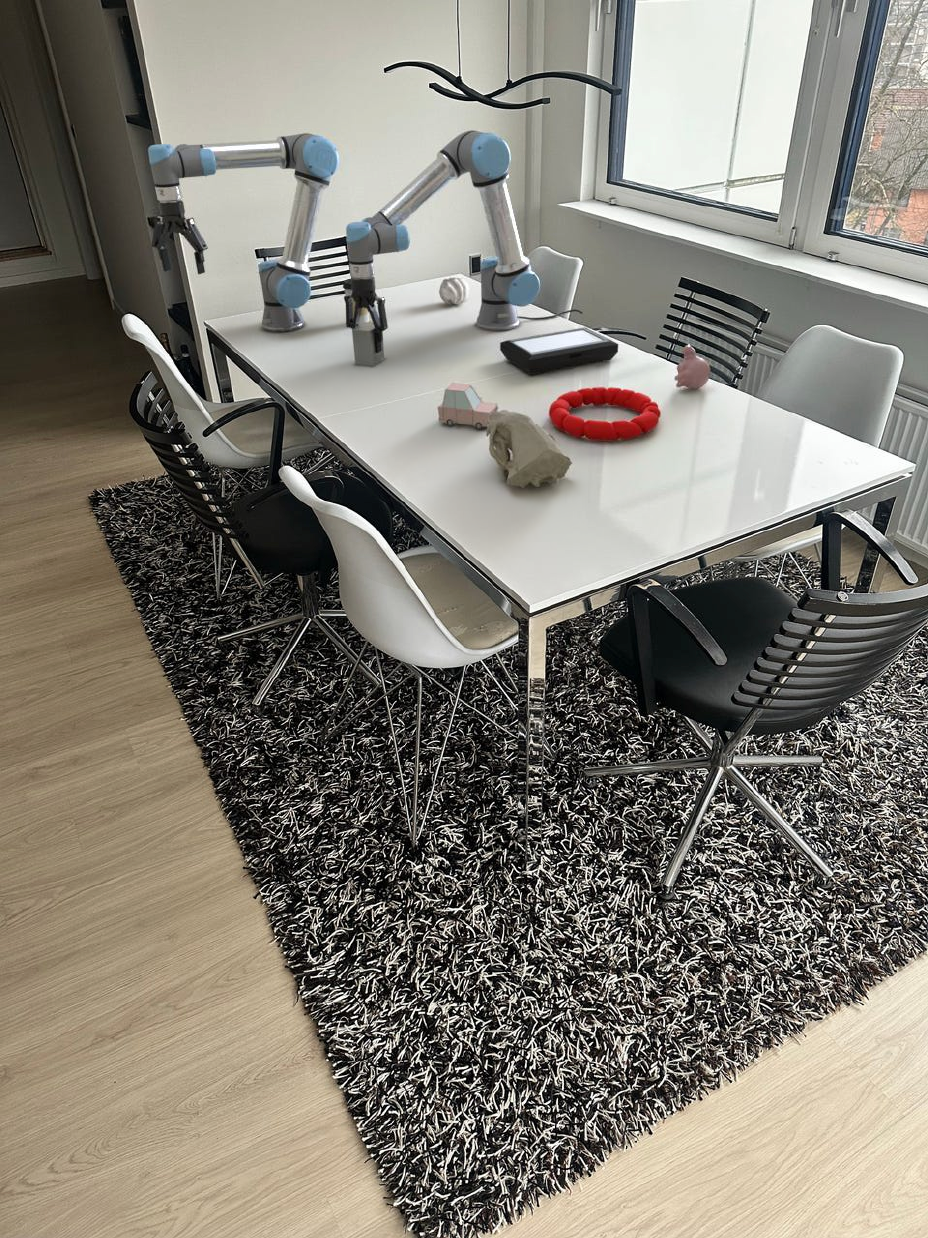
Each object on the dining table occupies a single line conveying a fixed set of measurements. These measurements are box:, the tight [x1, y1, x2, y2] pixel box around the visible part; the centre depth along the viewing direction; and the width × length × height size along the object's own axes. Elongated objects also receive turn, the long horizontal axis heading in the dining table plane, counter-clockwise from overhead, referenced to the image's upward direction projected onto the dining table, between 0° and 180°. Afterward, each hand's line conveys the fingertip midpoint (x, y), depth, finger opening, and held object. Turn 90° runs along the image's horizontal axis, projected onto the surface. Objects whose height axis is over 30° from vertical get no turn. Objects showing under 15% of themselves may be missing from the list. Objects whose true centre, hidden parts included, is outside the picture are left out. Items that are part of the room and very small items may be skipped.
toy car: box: [437, 382, 499, 431], centre depth 243 cm, size 9×15×10 cm, turn 70°
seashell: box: [438, 277, 470, 305], centre depth 341 cm, size 10×15×10 cm
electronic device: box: [499, 326, 619, 376], centre depth 285 cm, size 32×6×20 cm
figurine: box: [674, 344, 711, 390], centre depth 259 cm, size 9×11×12 cm
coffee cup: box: [342, 277, 370, 325], centre depth 323 cm, size 10×10×15 cm
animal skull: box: [485, 409, 573, 489], centre depth 216 cm, size 17×25×20 cm
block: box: [351, 321, 385, 368], centre depth 288 cm, size 6×8×12 cm
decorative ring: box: [548, 386, 661, 442], centre depth 242 cm, size 7×30×30 cm
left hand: (184, 271), depth 290 cm, fingers open, 13 cm apart
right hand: (369, 350), depth 289 cm, fingers closed on block, 6 cm apart
